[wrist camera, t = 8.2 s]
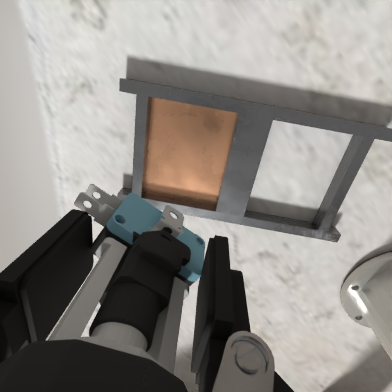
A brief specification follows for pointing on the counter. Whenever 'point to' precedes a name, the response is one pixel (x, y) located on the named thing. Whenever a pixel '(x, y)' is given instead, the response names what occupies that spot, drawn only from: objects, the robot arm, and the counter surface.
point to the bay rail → (226, 156)
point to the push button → (118, 307)
